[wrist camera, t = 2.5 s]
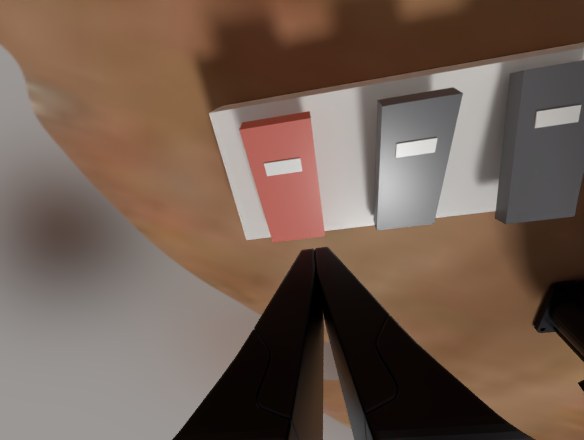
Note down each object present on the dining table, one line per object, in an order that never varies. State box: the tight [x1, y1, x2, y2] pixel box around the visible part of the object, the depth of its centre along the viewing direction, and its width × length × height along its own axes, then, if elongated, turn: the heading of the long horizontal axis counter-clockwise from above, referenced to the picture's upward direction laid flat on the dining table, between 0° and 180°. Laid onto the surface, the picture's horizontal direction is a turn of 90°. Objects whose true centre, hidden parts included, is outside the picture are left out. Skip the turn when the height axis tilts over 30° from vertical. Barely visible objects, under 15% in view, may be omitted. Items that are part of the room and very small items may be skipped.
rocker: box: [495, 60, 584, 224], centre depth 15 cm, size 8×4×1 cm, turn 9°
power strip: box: [209, 43, 584, 240], centre depth 18 cm, size 9×28×3 cm, turn 99°
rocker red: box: [239, 111, 325, 242], centre depth 16 cm, size 8×4×1 cm, turn 9°
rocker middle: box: [373, 87, 463, 230], centre depth 16 cm, size 8×4×1 cm, turn 9°
